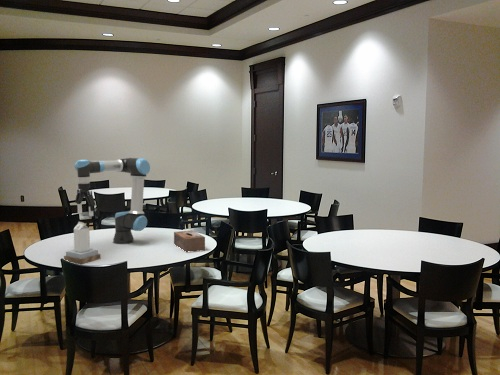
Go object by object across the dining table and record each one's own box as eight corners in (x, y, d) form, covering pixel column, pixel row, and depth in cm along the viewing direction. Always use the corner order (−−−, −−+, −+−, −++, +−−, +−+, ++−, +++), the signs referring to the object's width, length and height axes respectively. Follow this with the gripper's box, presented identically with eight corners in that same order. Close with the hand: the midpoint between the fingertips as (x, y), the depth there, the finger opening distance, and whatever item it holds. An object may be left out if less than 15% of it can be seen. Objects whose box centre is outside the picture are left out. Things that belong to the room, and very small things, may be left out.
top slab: (83, 251, 312) (83, 247, 312) (98, 254, 305) (97, 249, 305) (66, 256, 300) (66, 251, 299) (80, 259, 293) (80, 254, 293)
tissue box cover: (205, 250, 331) (205, 237, 330) (186, 252, 325) (186, 238, 324) (192, 243, 354) (191, 230, 353) (174, 244, 347) (173, 231, 346)
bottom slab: (83, 255, 314) (83, 250, 313) (100, 258, 306) (100, 254, 305) (64, 260, 300) (63, 256, 299) (80, 264, 292) (80, 259, 292)
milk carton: (84, 248, 307) (83, 220, 305) (90, 250, 303) (89, 222, 300) (74, 250, 302) (73, 222, 299) (80, 252, 297) (79, 223, 295)
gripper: (68, 182, 308) (70, 213, 311) (89, 185, 293) (91, 217, 296) (78, 181, 314) (80, 211, 317) (100, 184, 298) (101, 216, 301)
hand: (85, 214), depth 306 cm, fingers open, 13 cm apart
